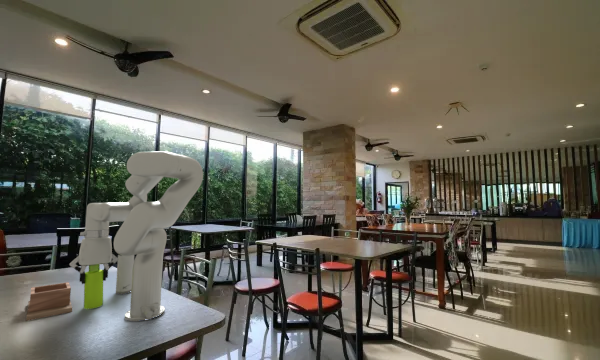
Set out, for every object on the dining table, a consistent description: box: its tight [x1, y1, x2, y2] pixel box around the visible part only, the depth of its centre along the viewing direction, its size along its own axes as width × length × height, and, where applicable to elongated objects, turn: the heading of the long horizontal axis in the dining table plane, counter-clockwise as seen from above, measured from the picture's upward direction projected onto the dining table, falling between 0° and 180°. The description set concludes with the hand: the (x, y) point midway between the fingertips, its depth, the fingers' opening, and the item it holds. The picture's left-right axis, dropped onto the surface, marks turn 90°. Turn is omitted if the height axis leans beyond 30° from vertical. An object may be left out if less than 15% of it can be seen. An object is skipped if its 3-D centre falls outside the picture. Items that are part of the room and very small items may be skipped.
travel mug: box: [115, 253, 135, 295], centre depth 125 cm, size 6×7×20 cm
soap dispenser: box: [83, 264, 104, 310], centre depth 107 cm, size 6×7×20 cm
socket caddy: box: [25, 281, 73, 322], centre depth 105 cm, size 20×12×8 cm, turn 43°
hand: (93, 281), depth 107 cm, fingers closed on soap dispenser, 6 cm apart
